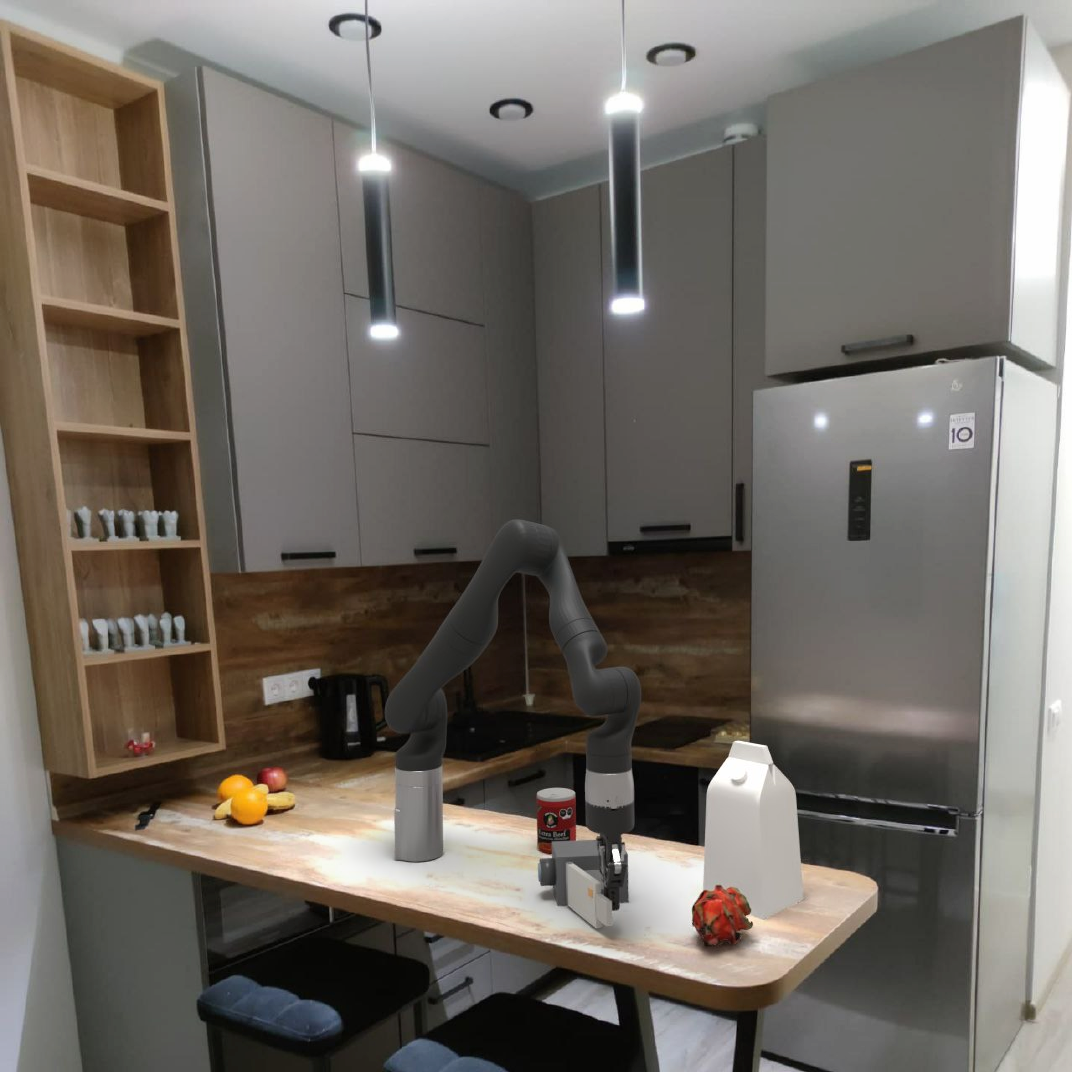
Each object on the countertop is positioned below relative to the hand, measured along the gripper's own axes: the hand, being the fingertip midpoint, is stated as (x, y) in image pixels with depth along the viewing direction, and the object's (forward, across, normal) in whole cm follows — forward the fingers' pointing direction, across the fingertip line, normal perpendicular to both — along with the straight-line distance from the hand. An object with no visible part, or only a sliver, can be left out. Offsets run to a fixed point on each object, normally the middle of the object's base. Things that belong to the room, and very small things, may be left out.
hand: (611, 908), depth 135 cm
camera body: (+4, -14, -3) cm, 15 cm away
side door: (+3, -4, -3) cm, 6 cm away
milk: (+4, -9, +26) cm, 28 cm away
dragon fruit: (+4, +6, +16) cm, 17 cm away
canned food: (+4, -38, -4) cm, 39 cm away
